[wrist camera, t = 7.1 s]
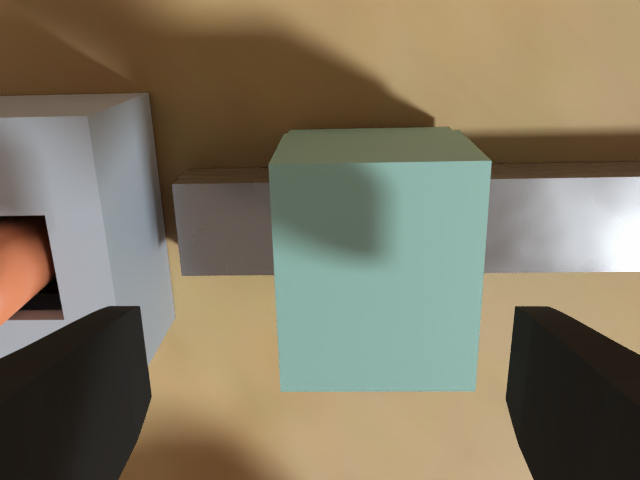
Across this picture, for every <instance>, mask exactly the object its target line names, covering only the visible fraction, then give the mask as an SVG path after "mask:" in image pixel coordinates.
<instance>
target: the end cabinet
mask: <svg viewBox="0 0 640 480" xmlns="http://www.w3.org/2000/svg"><path fill="white" fill-rule="evenodd" d="M30 215H45V219H46V224H47V230H48V235H49V240H50V246H51V251H52V256H53V262H54V267H55V272H56V278H57V283H58V289H59V294H36V295H35V296H34V297H32V298H31V299H30V300H29V301H28V302H27V303H26V304H25V305H23V306H22V307H21V308H20V309H19V310H18V311H17V312H16V313H15V314H13V315H12V316H11V317H10V318H9V319H8V320H7V321H6V322H4V323H3V324H2V325H1V326H0V358H2V357H4V356H6V355H8V354H10V353H13V352H15V351H17V350H19V349H21V348H23V347H25V346H27V345H29V344H31V343H33V342H35V341H37V340H39V339H41V338H43V337H45V336H47V335H49V334H51V333H52V332H54V331H56V330H58V329H60V328H62V327H64V326H66V325H68V324H70V323H72V322H74V321H76V320H78V319H80V318H82V317H84V316H86V315H88V314H90V313H92V312H94V311H97V310H99V309H102V308H105V307H108V306H140V309H141V317H142V325H143V333H144V340H145V348H146V356H147V364H148V365H149V363H150V362H151V360H152V358H153V356H154V355H155V353H156V351H157V349H158V347H159V346H160V344H161V342H162V340H163V339H164V337H165V335H166V333H167V331H168V330H169V328H170V326H171V324H172V323H173V321H174V319H175V311H174V303H173V294H172V286H171V277H170V269H169V260H168V252H167V243H166V235H165V226H164V218H163V209H162V201H161V192H160V184H159V175H158V166H157V158H156V149H155V141H154V132H153V124H152V115H151V107H150V98H149V93H113V94H67V95H22V96H0V219H2V218H4V217H6V216H30Z"/></svg>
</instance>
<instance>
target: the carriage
mask: <svg viewBox="0 0 640 480" xmlns="http://www.w3.org/2000/svg"><path fill="white" fill-rule="evenodd" d="M491 164H492V160H490V159H489V158H488V157H487V156H486V155H485V154H484V153H483V152H482V151H481V150H480V149H479V148H478V147H477V146H476V145H475V144H474V143H473V142H471V141H470V140H469V139H468V138H467V137H466V136H465V135H464V134H463V133H462V132H461V131H460V130H451V129H450V128H449V127H410V128H358V129H305V130H289V132H288V133H284V135H283V137H282V139H281V141H280V143H279V145H278V147H277V149H276V151H275V152H274V154H273V156H272V158H271V160H270V162H269V164H268V167H269V185H270V204H271V222H272V240H273V259H274V277H275V295H276V313H277V332H278V350H279V368H280V387H281V392H352V391H475V388H476V374H477V360H478V346H479V332H480V318H481V304H482V290H483V276H484V262H485V248H486V234H487V220H488V206H489V192H490V178H491Z"/></svg>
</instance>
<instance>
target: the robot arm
mask: <svg viewBox="0 0 640 480" xmlns="http://www.w3.org/2000/svg"><path fill="white" fill-rule="evenodd" d="M151 397H152V395H151V387H150V380H149V372H148V364H147V356H146V348H145V340H144V333H143V325H142V317H141V309H140V306H108V307H105V308H102V309H99V310H97V311H94V312H92V313H90V314H88V315H86V316H84V317H82V318H80V319H78V320H76V321H74V322H72V323H70V324H68V325H66V326H64V327H62V328H60V329H58V330H56V331H54V332H52V333H51V334H49V335H47V336H45V337H43V338H41V339H39V340H37V341H35V342H33V343H31V344H29V345H27V346H25V347H23V348H21V349H19V350H17V351H15V352H13V353H10V354H8V355H6V356H4V357H2V358H0V480H118V479H119V477H120V475H121V473H122V471H123V469H124V467H125V465H126V463H127V461H128V459H129V457H130V455H131V453H132V451H133V448H134V446H135V444H136V442H137V440H138V437H139V434H140V431H141V428H142V425H143V423H144V420H145V416H146V413H147V410H148V407H149V403H150V400H151ZM506 402H507V406H508V409H509V413H510V417H511V421H512V424H513V428H514V431H515V434H516V438H517V441H518V444H519V447H520V449H521V451H522V454H523V456H524V458H525V461H526V463H527V465H528V468H529V470H530V472H531V474H532V477H533V479H534V480H640V355H639V354H637V353H635V352H633V351H631V350H629V349H628V348H626V347H624V346H622V345H620V344H618V343H617V342H615V341H613V340H611V339H609V338H608V337H606V336H604V335H602V334H600V333H599V332H597V331H595V330H593V329H591V328H590V327H588V326H586V325H584V324H583V323H581V322H579V321H577V320H575V319H573V318H572V317H570V316H568V315H566V314H564V313H562V312H560V311H558V310H556V309H553V308H551V307H540V306H515V314H514V324H513V333H512V343H511V353H510V362H509V372H508V382H507V391H506Z"/></svg>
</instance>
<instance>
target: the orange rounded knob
mask: <svg viewBox="0 0 640 480" xmlns="http://www.w3.org/2000/svg"><path fill="white" fill-rule="evenodd" d="M55 277H56V272H55V267H54V262H53V256H52V251H51V246H50V240H49V235H48V230H47V224H46V219H45V215H30V216H6V217H4V218H2V219H0V326H1V325H2V324H3V323H4V322H6V321H7V320H8V319H9V318H10V317H11V316H12V315H13V314H15V313H16V312H17V311H18V310H19V309H20V308H21V307H22V306H23V305H25V304H26V303H27V302H28V301H29V300H30V299H31V298H32V297H34V296H35V295H36V294H37V293H38V292H39V291H40V290H41V289H42V288H44V287H45V286H46V285H47V284H48V283H49V282H50V281H51V280H52V279H54V278H55Z"/></svg>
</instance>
